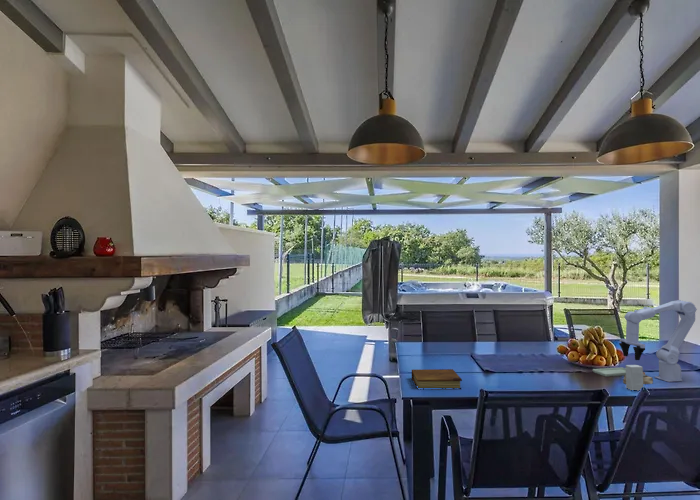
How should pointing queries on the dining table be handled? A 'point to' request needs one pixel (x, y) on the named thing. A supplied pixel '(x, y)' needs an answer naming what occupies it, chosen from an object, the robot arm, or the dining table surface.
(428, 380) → the diary
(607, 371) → the tray
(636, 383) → the skincare box
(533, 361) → the dining table surface
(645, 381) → the tan rectangular frame
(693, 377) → the dining table surface
